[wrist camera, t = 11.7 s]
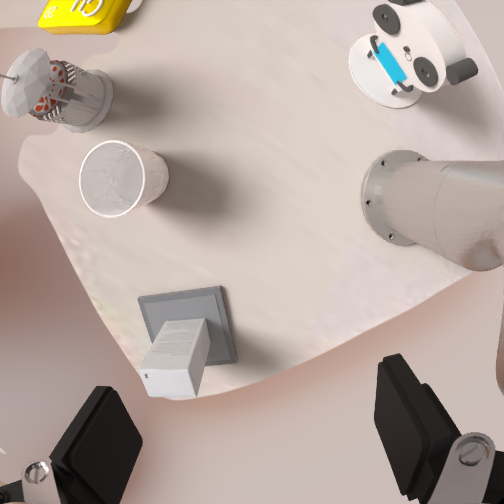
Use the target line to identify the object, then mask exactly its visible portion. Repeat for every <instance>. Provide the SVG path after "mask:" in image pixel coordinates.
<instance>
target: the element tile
mask: <svg viewBox="0 0 504 504" xmlns="http://www.w3.org/2000/svg"><path fill="white" fill-rule="evenodd" d="M131 2H132V0H49V1H48V3H47V5H46V7H45V8H44V10H43V12H42V14H41V16H40V18H39V21H38V26H39V27H40V28H42V29H43V30H45V31H47V32H49V33H51V34H54V35H61V34H97V35H99V34H100V35H105V34H109V33H112V31H114V30H115V29H116V28H117V27H118V25H119V24H120V22H121V20H122V18H123V16H124V14H125V13H126V11H127V9H128V7H129V6H130V3H131Z"/></svg>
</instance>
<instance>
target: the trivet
mask: <svg viewBox="0 0 504 504" xmlns="http://www.w3.org/2000/svg"><path fill="white" fill-rule="evenodd" d="M138 302H139V305H140V309H141V312H142V315H143V318H144V321H145V324H146V327H147V330H148V333H149V336H150V339H151V342H152V344H153V342H154V340H155V339H156V337H157V335H158V333H159V332H160V330H161V328H162V326H163V325H164V323H165V321H175V320H189V319H201V318H205V319H206V323H207V328H208V333H209V338H210V342H211V344H210V347H209V351H208V355H207V359H206V363H205V366H210V365H222V364H232V363H237V356H236V352H235V347H234V343H233V339H232V335H231V330H230V326H229V322H228V317H227V313H226V309H225V304H224V300H223V295H222V291H221V286H215V287H208V288H201V289H193V290H186V291H179V292H171V293H164V294H156V295H148V296H140V297H139V298H138Z"/></svg>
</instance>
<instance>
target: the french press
mask: <svg viewBox="0 0 504 504" xmlns="http://www.w3.org/2000/svg"><path fill="white" fill-rule="evenodd" d="M67 64H68V62H66V61H58V60H55V61H50V58H49V56H48V54H47V52H46V51H44V50H43V49H41V48H35V49H30V50H28V51H27V52H25V53H23V54H22V55H20V56H19V57H18V59H17V60H16V61H15V62H14V63H13V64H12V66H11V67H10V69H9V71H8V73H7V75H6V76H4V75H1V74H0V77H3V78H5V79H4V82H3V86H2V93H1V104H2V107H3V110H4V112H5V113H6V114H7V115H8V116H9V117H10V118H19V117H21V116H23V115H25V114H26V113H30V114H31V115H33V116H34V117H37V118H38V119H39V120H43V121H49V122H51V121H53V122H55V123H58V122H59V123H61V124H63V126H64V127H65V128H67V129H68V130H69V131H71V132H74V133H84V132H86V131H89V130H92V129H93V128H94V127H96V126H97V125H98V124H99V123H100V122H101V121H102V120H103V119H104V117H105V116H106V114H107V112H108V111H109V109H110V106H111V102H112V98H113V86H112V82H111V80H110V79H109V77H108V75H107V74H105V73H103V72H102V71H100V70H87V71H85V70H83V69H81V68H79V67H75V66H74V65H73V64H71V65H69V66H67V67H65V65H67ZM71 67H73V69H71V70H69V71H68V72H67V69H69V68H71ZM78 69H79V70H78ZM72 71H75V72H74V73H73V74H71V75H69V76H68V74H69V73H71V72H72ZM83 71H84V72H83ZM80 72H82V73H80ZM75 74H76V77H74V78H73V79H72V80H70V81H69V82H68V79H70V78H71V77H72V76H74V75H75ZM56 106H58V110H59V115H58V114H57V110H56ZM53 109H54V113H55V117H53V113H52V110H53ZM48 113H50V116H51V119H49V117H48ZM44 115H45V117H46V119H47V120H45V119H44V118H43V116H44ZM59 119H61V120H59ZM55 120H57V121H55ZM60 121H62V122H60Z"/></svg>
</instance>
